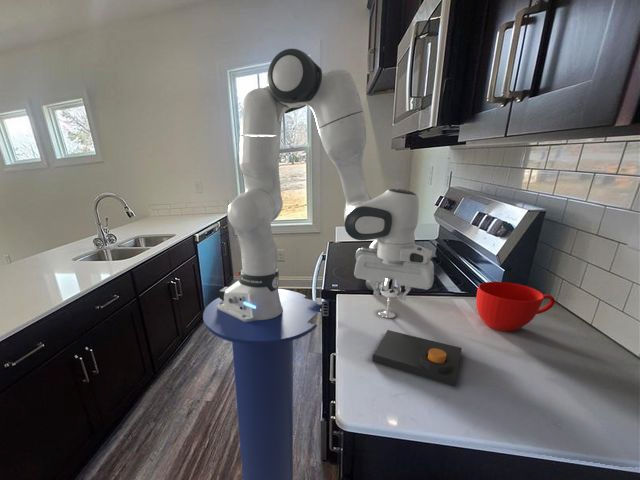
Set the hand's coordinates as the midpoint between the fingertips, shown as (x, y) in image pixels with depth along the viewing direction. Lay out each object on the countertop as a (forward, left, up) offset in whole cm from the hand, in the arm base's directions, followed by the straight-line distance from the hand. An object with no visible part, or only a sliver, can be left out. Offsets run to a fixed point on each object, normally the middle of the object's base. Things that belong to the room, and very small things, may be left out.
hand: (389, 297), depth 91 cm
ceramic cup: (+28, +9, -6) cm, 30 cm away
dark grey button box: (+11, -19, -6) cm, 23 cm away
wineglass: (0, 0, -6) cm, 6 cm away
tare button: (+15, -22, -2) cm, 27 cm away
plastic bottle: (-8, +17, -6) cm, 20 cm away
